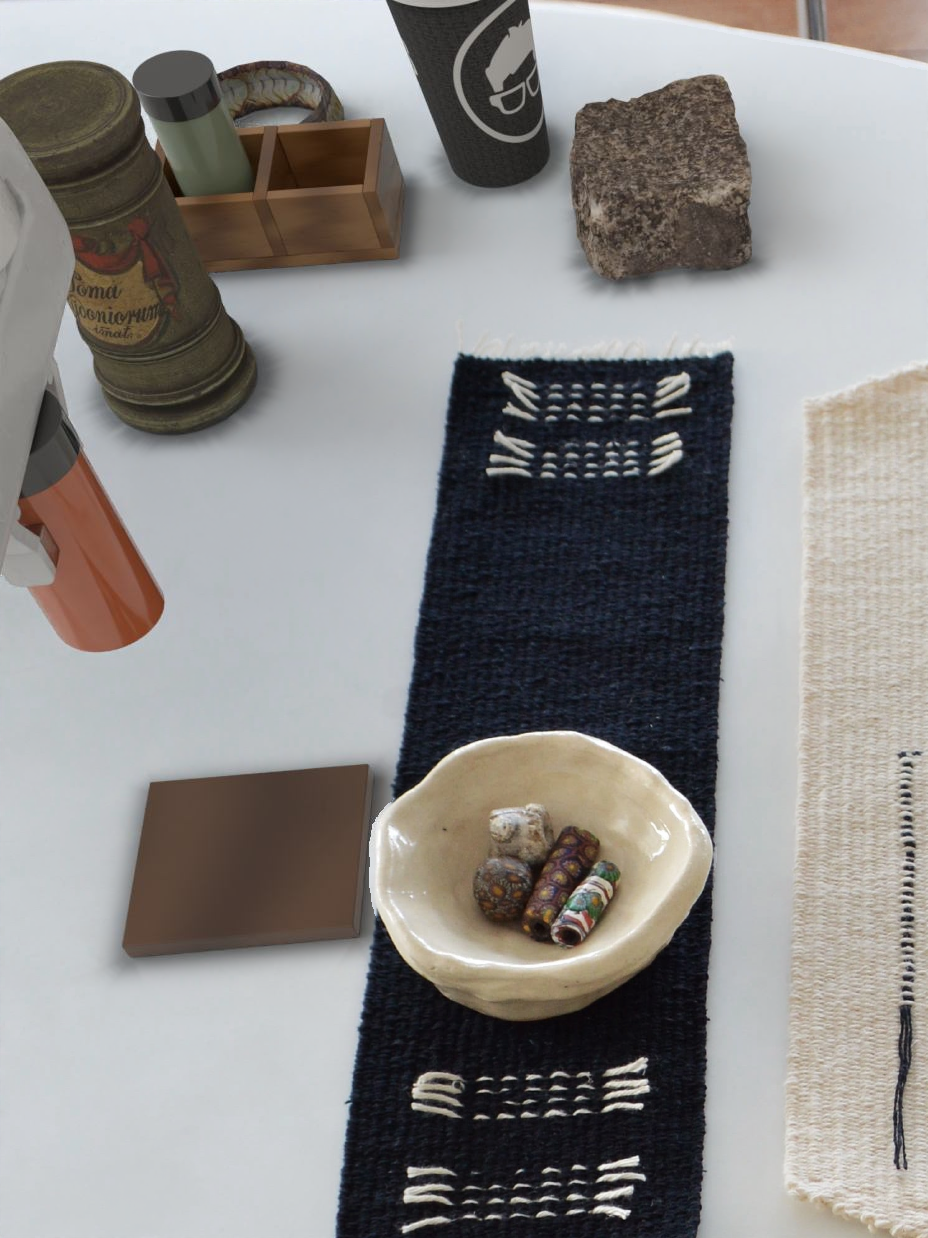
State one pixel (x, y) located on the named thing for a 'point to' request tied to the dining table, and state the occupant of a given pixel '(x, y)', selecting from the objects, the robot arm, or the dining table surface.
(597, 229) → the stone
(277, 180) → the spice rack
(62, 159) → the container
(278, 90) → the decorative ring
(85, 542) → the spice jar
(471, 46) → the coffee cup
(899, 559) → the dining table surface
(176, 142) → the jar
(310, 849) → the board
